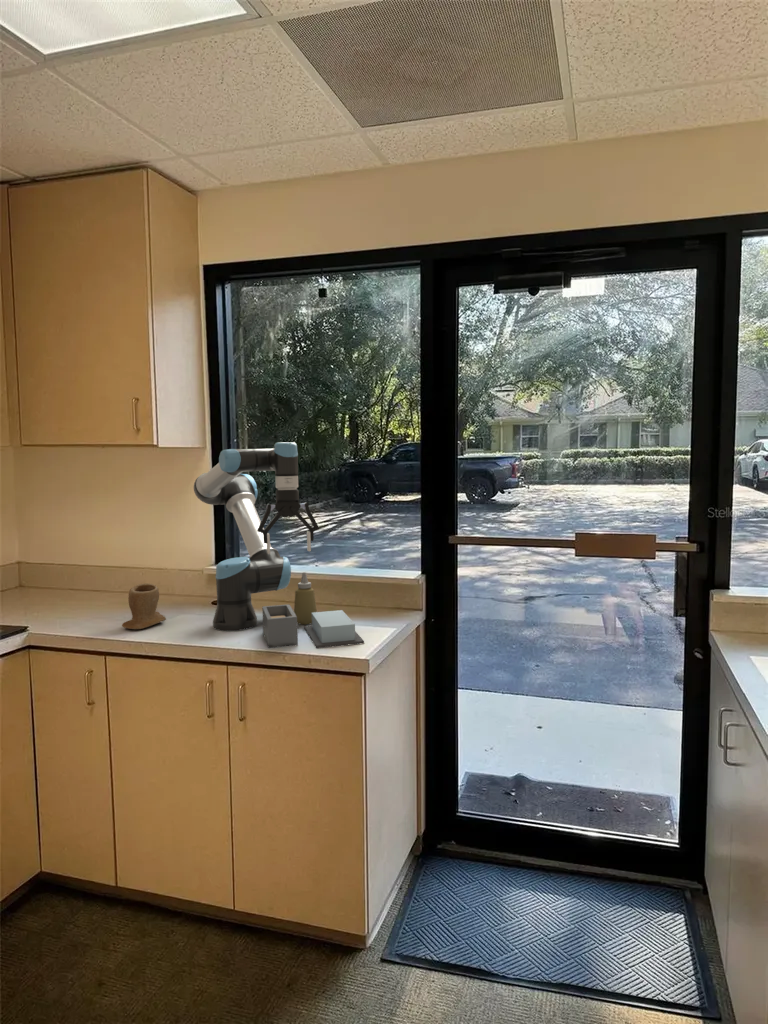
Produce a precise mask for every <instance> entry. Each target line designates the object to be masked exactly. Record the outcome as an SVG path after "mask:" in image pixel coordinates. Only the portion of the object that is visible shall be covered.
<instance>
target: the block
mask: <svg viewBox="0 0 768 1024" xmlns="http://www.w3.org/2000/svg"><path fill="white" fill-rule="evenodd" d="M311 626H312V628H313V630H314V631H315V633H316V634H317V636H318V637H319V639H320V641H321V642H322V643H327V642H338V641H348V640H355V631H356V623H354V622H353V620H352V619H351V618H350V617H349V616H348V615H347V613H345V612H344V610H343V609H339V610H327V611H317V612H313V613H312V624H311Z"/></svg>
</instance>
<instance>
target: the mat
mask: <svg viewBox="0 0 768 1024" xmlns="http://www.w3.org/2000/svg"><path fill="white" fill-rule="evenodd" d="M303 626H304V625H303ZM304 630H305V631H307V632H306V633H307V635H308V637H309V636H310V637H309V638H310V640H311V641H313V642H312V643H313V645H314V646H316V647H315V648H316V649H321V648H322V649H323V648H333V647H332V646H334V647H342V646H341V645H344V646H349V645H348V644H354V645H358V644H357V643H364V644H365V640H364V639H363V638H362V637H361V636H360V634H359V633H358V632H357V631H356V630H355V640H348V641H338V642H327V643H322V642H321V641H320V639H319V637H318V636H317V634H316V633H315V631H314V630H313V628H312V625H305V626H304Z"/></svg>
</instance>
